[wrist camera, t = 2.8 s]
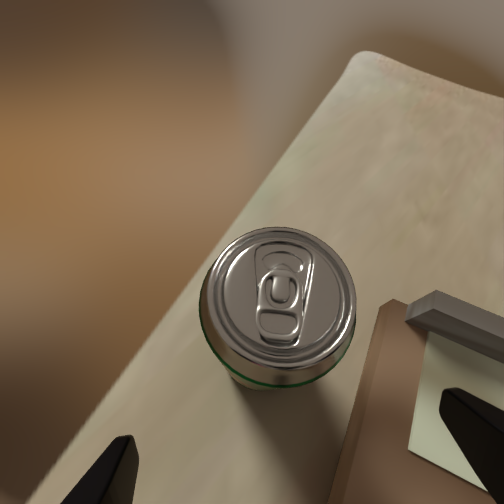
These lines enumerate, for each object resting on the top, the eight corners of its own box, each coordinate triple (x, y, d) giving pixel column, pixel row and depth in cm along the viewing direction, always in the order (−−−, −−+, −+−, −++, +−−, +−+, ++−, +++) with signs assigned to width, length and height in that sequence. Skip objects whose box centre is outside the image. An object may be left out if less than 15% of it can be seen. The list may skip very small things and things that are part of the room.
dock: (579, 782, 11) (807, 1049, 6) (302, 596, 13) (332, 700, 9) (559, 386, 18) (663, 384, 13) (379, 306, 20) (418, 282, 15)
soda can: (297, 316, 19) (363, 224, 9) (295, 395, 17) (380, 400, 6) (228, 308, 20) (210, 208, 9) (216, 385, 17) (173, 374, 7)
